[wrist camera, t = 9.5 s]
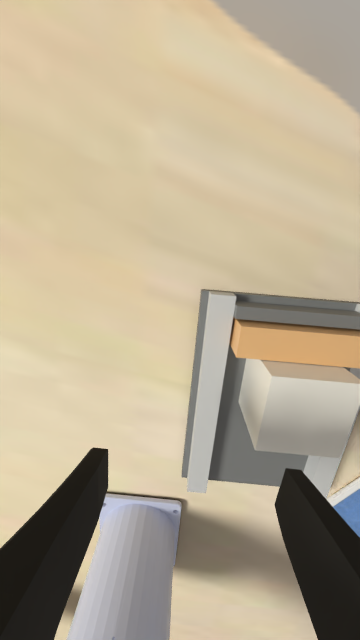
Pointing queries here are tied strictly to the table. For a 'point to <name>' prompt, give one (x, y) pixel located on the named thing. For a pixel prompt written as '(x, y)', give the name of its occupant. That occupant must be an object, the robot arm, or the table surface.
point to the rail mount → (225, 384)
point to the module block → (298, 406)
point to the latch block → (295, 343)
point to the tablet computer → (348, 504)
